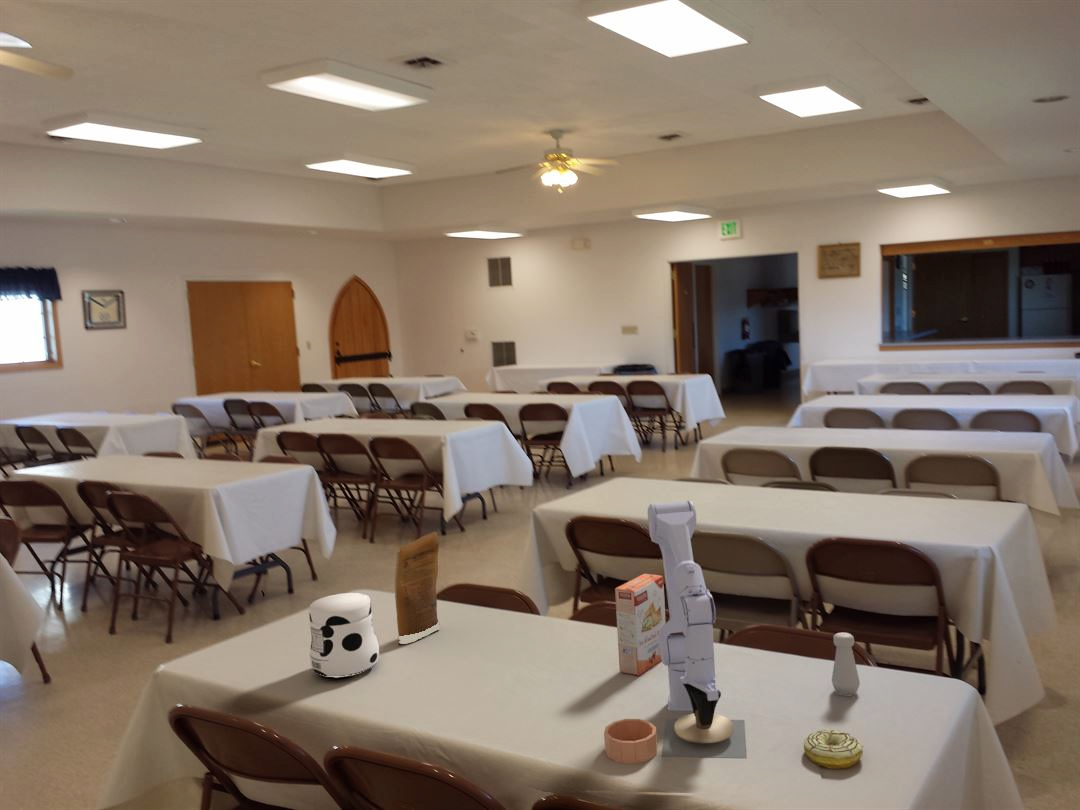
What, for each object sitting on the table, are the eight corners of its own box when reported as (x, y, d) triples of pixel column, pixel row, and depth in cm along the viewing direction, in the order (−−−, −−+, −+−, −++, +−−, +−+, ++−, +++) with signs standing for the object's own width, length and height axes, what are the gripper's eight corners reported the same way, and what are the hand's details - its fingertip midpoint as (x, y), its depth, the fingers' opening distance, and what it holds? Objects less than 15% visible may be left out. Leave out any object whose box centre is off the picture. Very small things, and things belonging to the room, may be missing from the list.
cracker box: (640, 677, 213) (634, 591, 211) (618, 672, 216) (612, 588, 214) (669, 657, 224) (664, 574, 222) (648, 652, 227) (643, 572, 225)
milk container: (388, 656, 239) (381, 590, 237) (369, 682, 222) (362, 611, 220) (325, 658, 241) (318, 593, 239) (301, 685, 224) (294, 614, 222)
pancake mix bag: (453, 626, 258) (445, 531, 255) (407, 649, 243) (397, 547, 240) (436, 623, 262) (427, 529, 259) (389, 645, 247) (379, 545, 244)
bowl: (658, 740, 181) (657, 719, 180) (655, 765, 171) (654, 743, 171) (609, 739, 183) (607, 718, 182) (603, 764, 173) (601, 742, 173)
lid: (732, 716, 185) (731, 698, 184) (734, 743, 173) (733, 724, 173) (675, 716, 187) (674, 698, 186) (673, 742, 175) (672, 724, 175)
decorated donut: (864, 747, 172) (863, 728, 172) (862, 775, 163) (861, 755, 162) (807, 741, 176) (806, 723, 176) (802, 768, 166) (801, 748, 166)
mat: (744, 721, 186) (744, 719, 186) (746, 760, 171) (746, 758, 171) (666, 720, 189) (666, 718, 189) (661, 758, 174) (661, 756, 174)
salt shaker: (838, 684, 201) (835, 627, 199) (864, 689, 197) (861, 632, 196) (828, 694, 196) (825, 636, 195) (854, 699, 192) (851, 640, 191)
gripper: (669, 644, 185) (673, 707, 186) (691, 671, 171) (695, 739, 172) (702, 640, 186) (705, 703, 187) (727, 666, 172) (731, 734, 173)
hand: (703, 720), depth 180 cm, fingers closed on lid, 3 cm apart
